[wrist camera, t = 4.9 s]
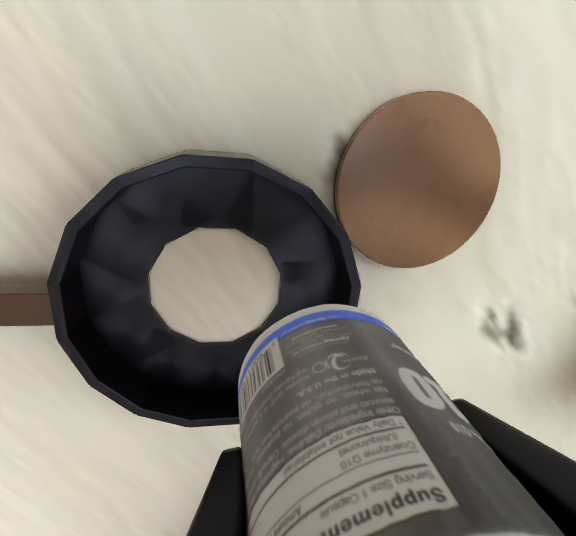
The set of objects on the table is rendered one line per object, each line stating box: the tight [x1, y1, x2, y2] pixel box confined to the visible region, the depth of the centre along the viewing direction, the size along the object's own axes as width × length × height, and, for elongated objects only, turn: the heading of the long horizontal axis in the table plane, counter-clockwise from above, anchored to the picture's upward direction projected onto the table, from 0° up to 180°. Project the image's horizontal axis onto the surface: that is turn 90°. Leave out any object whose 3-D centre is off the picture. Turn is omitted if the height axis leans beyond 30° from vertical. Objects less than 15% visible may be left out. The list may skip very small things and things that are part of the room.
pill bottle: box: [238, 304, 565, 536], centre depth 6 cm, size 5×5×8 cm
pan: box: [0, 150, 361, 427], centre depth 17 cm, size 14×22×3 cm, turn 85°
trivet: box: [335, 91, 500, 268], centre depth 19 cm, size 9×9×1 cm
